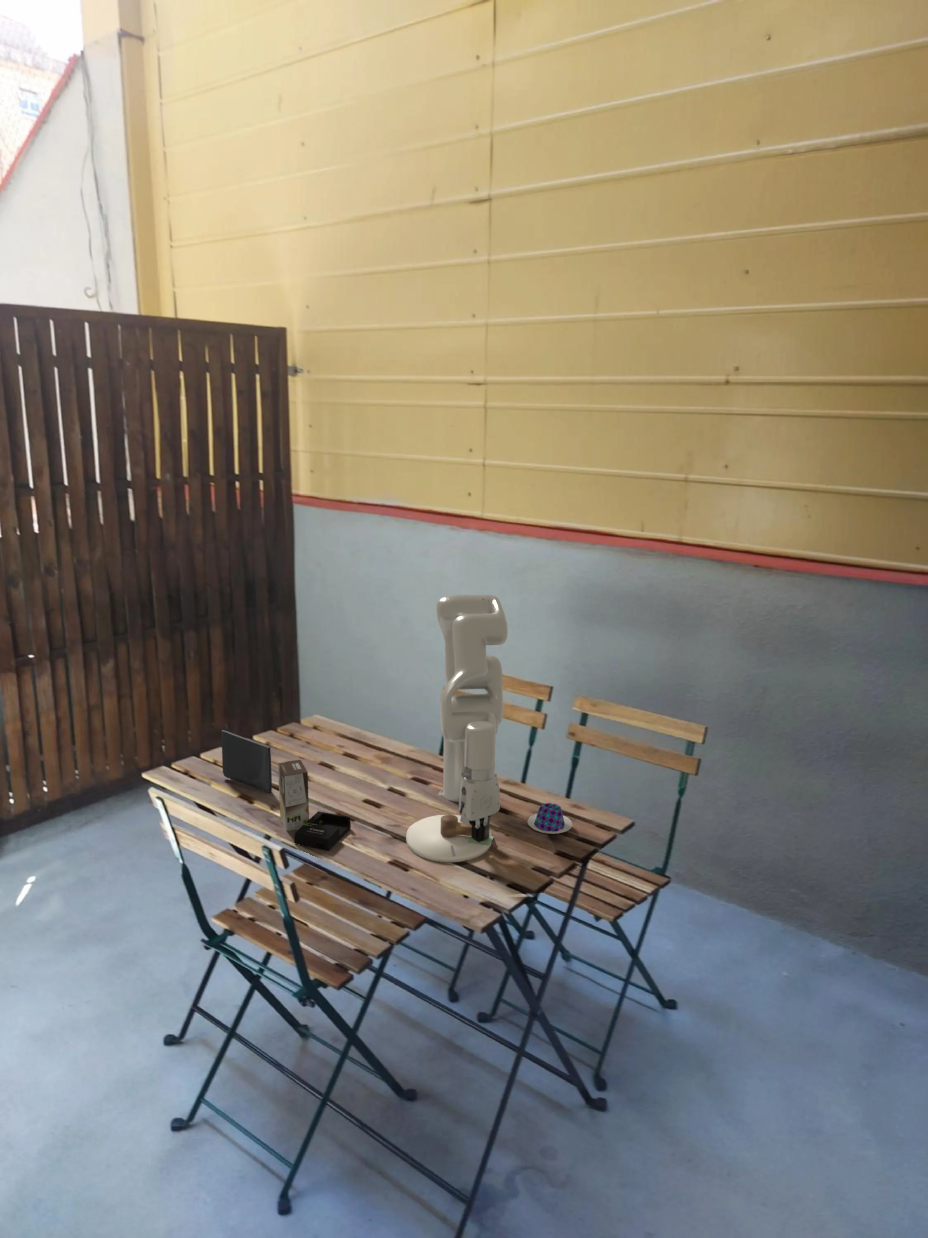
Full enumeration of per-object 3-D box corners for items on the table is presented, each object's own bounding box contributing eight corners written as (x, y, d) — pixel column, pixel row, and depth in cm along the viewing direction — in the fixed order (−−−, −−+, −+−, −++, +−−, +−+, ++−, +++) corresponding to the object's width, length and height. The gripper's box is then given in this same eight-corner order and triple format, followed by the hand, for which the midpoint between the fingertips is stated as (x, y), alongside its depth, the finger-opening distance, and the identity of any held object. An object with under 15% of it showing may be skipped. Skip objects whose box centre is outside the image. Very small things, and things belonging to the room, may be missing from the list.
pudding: (580, 824, 224) (581, 806, 223) (556, 841, 215) (557, 822, 214) (543, 810, 232) (544, 793, 230) (518, 826, 222) (519, 808, 221)
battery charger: (328, 854, 207) (328, 839, 206) (294, 847, 210) (293, 833, 209) (350, 830, 219) (350, 816, 218) (318, 824, 222) (317, 810, 221)
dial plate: (403, 821, 223) (403, 816, 223) (485, 818, 226) (485, 812, 226) (409, 864, 202) (409, 858, 202) (499, 860, 205) (499, 854, 204)
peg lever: (438, 836, 212) (439, 817, 211) (442, 828, 216) (442, 810, 215) (487, 842, 209) (488, 823, 208) (490, 833, 214) (491, 815, 212)
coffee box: (310, 828, 218) (308, 772, 214) (286, 833, 216) (283, 776, 212) (302, 813, 227) (300, 759, 223) (279, 817, 224) (276, 762, 220)
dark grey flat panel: (275, 792, 239) (273, 743, 235) (270, 795, 237) (268, 745, 233) (227, 775, 249) (225, 728, 245) (222, 778, 248) (219, 730, 244)
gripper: (465, 784, 196) (463, 854, 200) (512, 769, 205) (510, 837, 209) (446, 773, 202) (445, 842, 206) (492, 759, 211) (491, 825, 215)
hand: (477, 839), depth 208 cm, fingers closed
